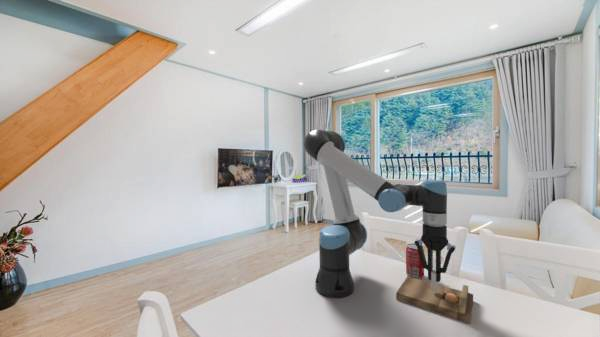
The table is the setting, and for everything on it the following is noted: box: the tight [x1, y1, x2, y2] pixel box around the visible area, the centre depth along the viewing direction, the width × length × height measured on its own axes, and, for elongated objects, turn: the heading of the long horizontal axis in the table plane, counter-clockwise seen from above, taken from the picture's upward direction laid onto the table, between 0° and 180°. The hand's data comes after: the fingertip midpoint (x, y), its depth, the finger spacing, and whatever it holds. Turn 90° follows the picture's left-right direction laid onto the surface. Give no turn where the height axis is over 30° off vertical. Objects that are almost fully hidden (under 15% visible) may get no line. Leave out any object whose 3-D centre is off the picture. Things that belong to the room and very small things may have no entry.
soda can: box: [405, 243, 425, 280], centre depth 106 cm, size 7×7×13 cm
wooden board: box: [395, 275, 474, 324], centre depth 88 cm, size 22×15×5 cm
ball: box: [445, 293, 458, 304], centre depth 85 cm, size 4×4×4 cm
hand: (434, 289), depth 88 cm, fingers closed
